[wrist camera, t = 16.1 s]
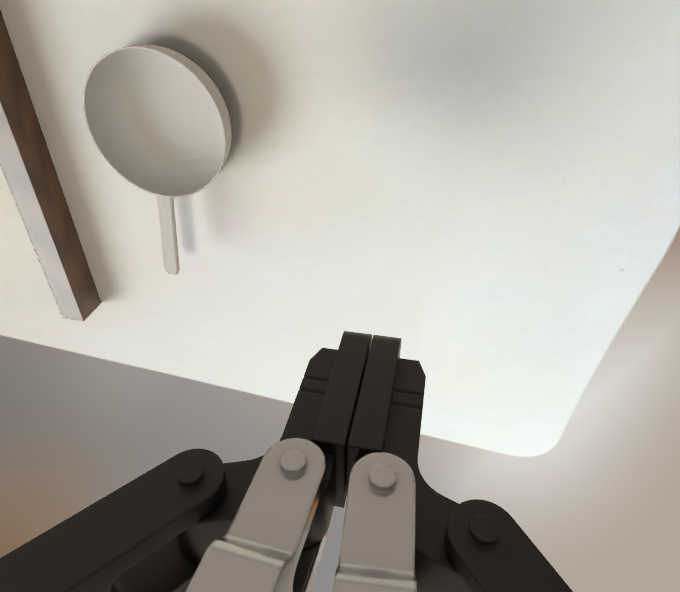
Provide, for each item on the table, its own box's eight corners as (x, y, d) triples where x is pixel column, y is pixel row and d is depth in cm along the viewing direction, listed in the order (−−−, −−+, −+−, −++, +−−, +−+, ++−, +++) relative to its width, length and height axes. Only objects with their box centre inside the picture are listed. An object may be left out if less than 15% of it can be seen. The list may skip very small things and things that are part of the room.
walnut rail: (-47, -40, 36) (-83, -37, 34) (-18, -40, 36) (-52, -37, 34) (80, 300, 54) (62, 318, 52) (101, 303, 54) (83, 321, 51)
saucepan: (240, 47, 36) (219, 59, 33) (246, 262, 47) (230, 286, 44) (97, 27, 37) (64, 37, 34) (135, 241, 48) (113, 263, 45)
